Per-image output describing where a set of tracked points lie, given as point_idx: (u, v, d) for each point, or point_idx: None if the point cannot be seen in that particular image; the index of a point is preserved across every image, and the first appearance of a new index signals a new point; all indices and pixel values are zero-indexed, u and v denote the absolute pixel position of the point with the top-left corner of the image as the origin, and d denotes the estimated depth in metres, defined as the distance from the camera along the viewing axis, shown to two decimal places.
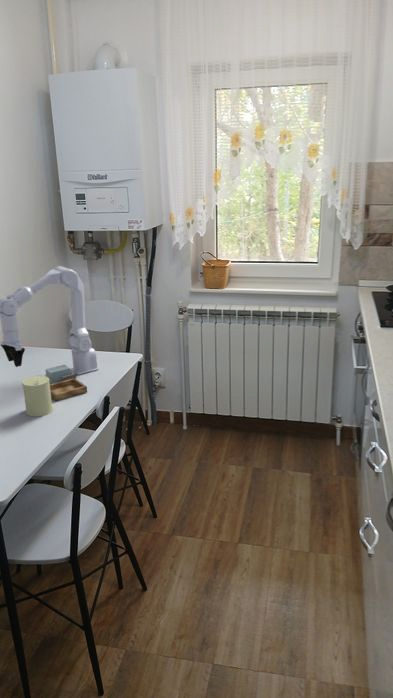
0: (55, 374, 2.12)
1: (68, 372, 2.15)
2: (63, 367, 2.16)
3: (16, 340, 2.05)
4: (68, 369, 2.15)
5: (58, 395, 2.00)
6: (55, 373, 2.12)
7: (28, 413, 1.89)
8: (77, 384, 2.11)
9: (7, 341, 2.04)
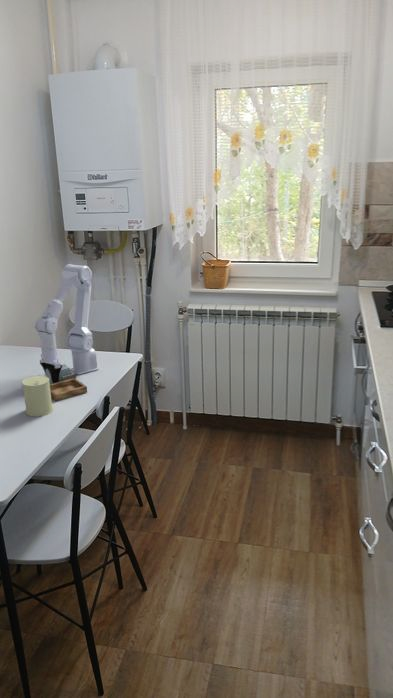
0: None
1: (68, 372, 2.15)
2: (63, 366, 2.16)
3: (55, 358, 2.10)
4: (68, 369, 2.15)
5: (58, 395, 2.00)
6: None
7: (28, 413, 1.89)
8: (77, 384, 2.11)
9: (46, 359, 2.09)
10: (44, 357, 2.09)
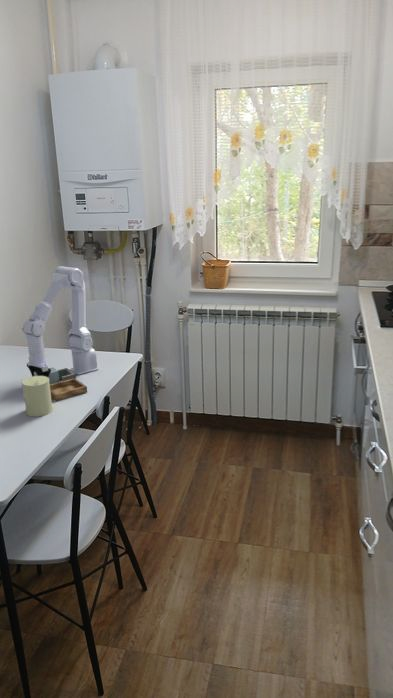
0: None
1: (57, 375, 2.12)
2: (52, 369, 2.14)
3: (42, 361, 2.07)
4: (57, 372, 2.12)
5: (58, 395, 2.00)
6: None
7: (28, 413, 1.89)
8: (77, 384, 2.11)
9: (33, 362, 2.06)
10: (31, 360, 2.06)
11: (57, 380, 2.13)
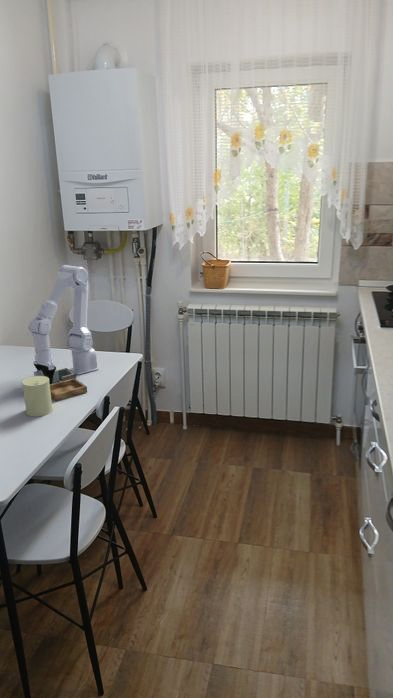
0: None
1: (57, 375, 2.12)
2: None
3: (48, 359, 2.09)
4: (57, 372, 2.12)
5: (58, 395, 2.00)
6: None
7: (28, 413, 1.89)
8: (77, 384, 2.11)
9: (40, 360, 2.07)
10: (38, 358, 2.08)
11: (57, 380, 2.13)
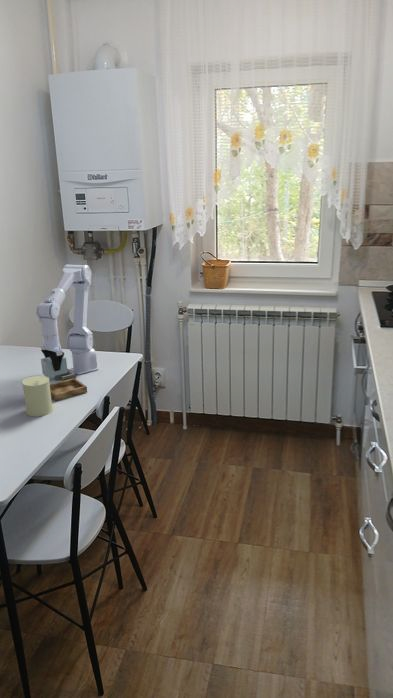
0: (50, 364, 2.03)
1: (64, 362, 2.07)
2: None
3: (56, 345, 2.03)
4: (64, 359, 2.06)
5: (58, 395, 2.00)
6: (51, 363, 2.03)
7: (28, 413, 1.89)
8: (77, 384, 2.11)
9: (48, 346, 2.02)
10: (45, 344, 2.02)
11: (65, 367, 2.07)
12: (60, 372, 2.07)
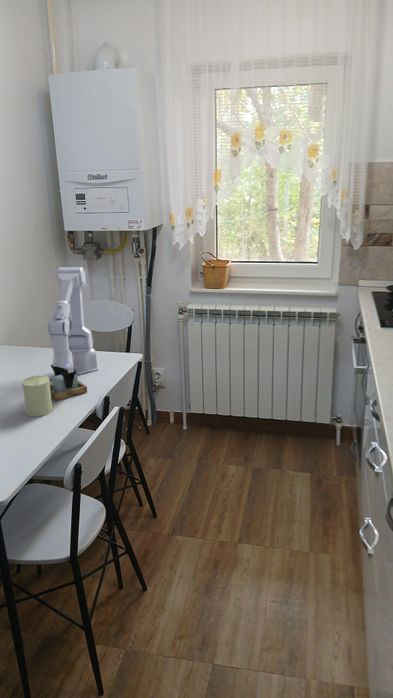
0: (61, 382, 2.02)
1: (75, 380, 2.06)
2: None
3: (67, 362, 2.01)
4: (75, 377, 2.05)
5: (58, 395, 2.00)
6: (62, 381, 2.02)
7: (28, 413, 1.89)
8: None
9: (59, 363, 2.00)
10: (56, 361, 2.00)
11: (76, 385, 2.06)
12: None
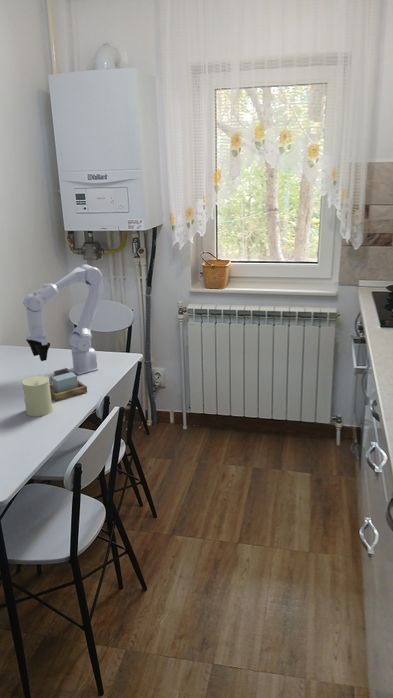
0: (61, 382, 2.02)
1: (75, 380, 2.06)
2: (70, 374, 2.07)
3: (42, 335, 2.12)
4: (75, 377, 2.05)
5: (58, 395, 2.00)
6: (62, 381, 2.02)
7: (28, 413, 1.89)
8: None
9: (33, 336, 2.11)
10: (31, 334, 2.11)
11: (76, 385, 2.06)
12: None
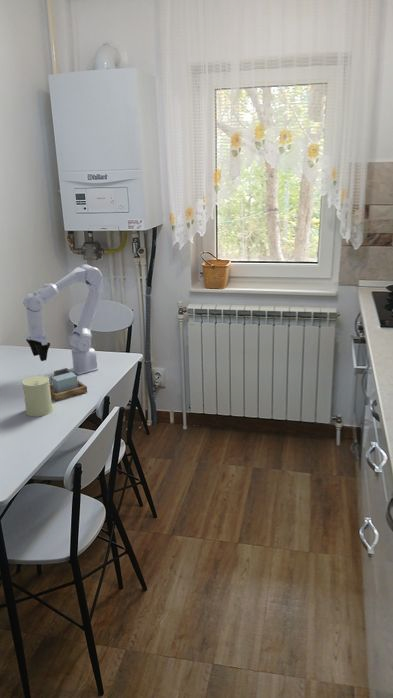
0: (61, 382, 2.02)
1: (75, 380, 2.06)
2: (70, 374, 2.07)
3: (42, 335, 2.12)
4: (75, 377, 2.05)
5: (58, 395, 2.00)
6: (62, 381, 2.02)
7: (28, 413, 1.89)
8: None
9: (33, 336, 2.11)
10: (31, 334, 2.11)
11: (76, 385, 2.06)
12: None
